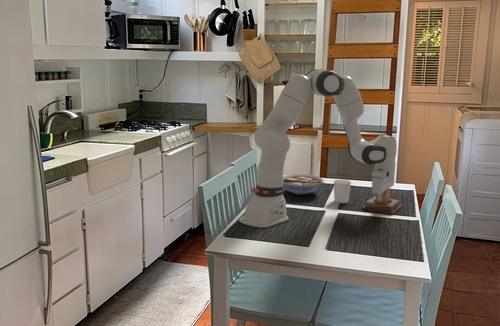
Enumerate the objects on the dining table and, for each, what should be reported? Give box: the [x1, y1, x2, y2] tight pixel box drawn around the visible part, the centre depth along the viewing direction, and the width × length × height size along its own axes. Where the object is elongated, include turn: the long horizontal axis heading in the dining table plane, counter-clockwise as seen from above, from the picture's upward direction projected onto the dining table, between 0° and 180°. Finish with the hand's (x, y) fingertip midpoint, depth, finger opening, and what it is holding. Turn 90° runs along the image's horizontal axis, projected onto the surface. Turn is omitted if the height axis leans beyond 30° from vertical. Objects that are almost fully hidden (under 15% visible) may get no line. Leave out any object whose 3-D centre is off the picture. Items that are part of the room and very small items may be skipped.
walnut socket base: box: [361, 195, 403, 216], centre depth 221 cm, size 14×14×4 cm
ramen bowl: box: [283, 173, 325, 196], centre depth 244 cm, size 25×23×8 cm
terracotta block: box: [375, 188, 392, 204], centre depth 220 cm, size 5×5×7 cm
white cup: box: [333, 179, 352, 204], centre depth 230 cm, size 8×8×10 cm
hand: (382, 199), depth 220 cm, fingers closed on terracotta block, 5 cm apart
